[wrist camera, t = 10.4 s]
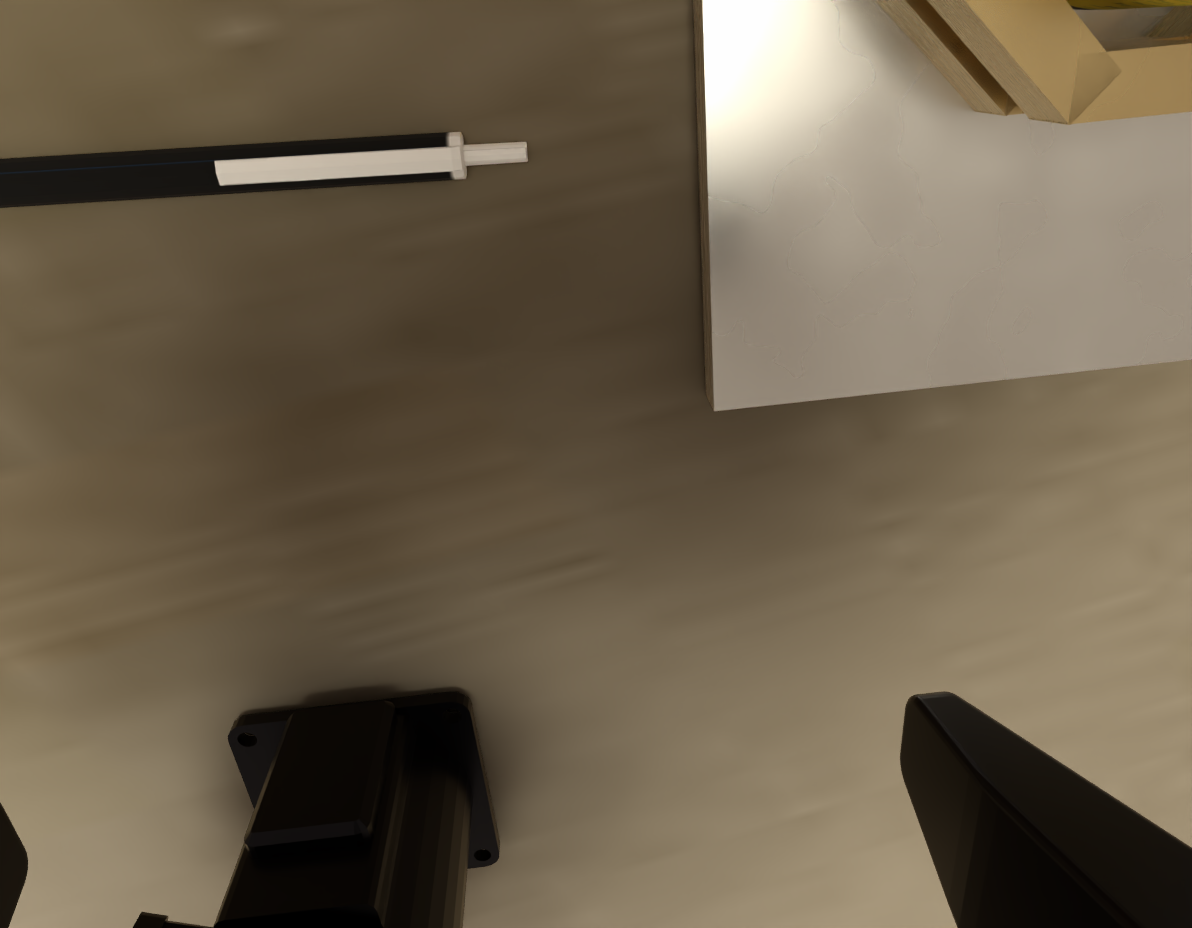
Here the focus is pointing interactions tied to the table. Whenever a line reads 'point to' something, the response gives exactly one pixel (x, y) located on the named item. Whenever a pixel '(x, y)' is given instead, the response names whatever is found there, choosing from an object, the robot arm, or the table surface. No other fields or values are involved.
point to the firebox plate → (939, 193)
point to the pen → (246, 168)
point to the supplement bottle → (1124, 4)
